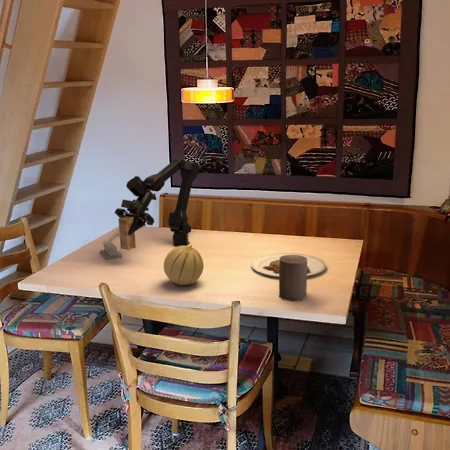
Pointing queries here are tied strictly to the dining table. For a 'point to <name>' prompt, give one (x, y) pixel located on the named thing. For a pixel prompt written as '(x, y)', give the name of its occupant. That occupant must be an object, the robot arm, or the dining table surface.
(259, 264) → the plated food
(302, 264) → the pillar candle
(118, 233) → the caliper
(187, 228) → the robot arm
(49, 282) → the dining table surface
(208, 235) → the dining table surface
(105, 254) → the grey box
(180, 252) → the cantaloupe
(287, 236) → the dining table surface
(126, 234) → the walnut post
